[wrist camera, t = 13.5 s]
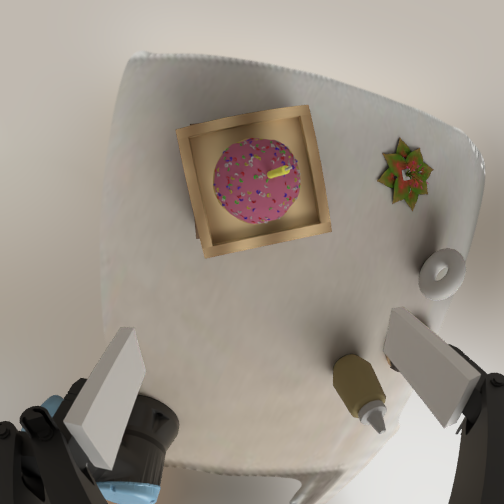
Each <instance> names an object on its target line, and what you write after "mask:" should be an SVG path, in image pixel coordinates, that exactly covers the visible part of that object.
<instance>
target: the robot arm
mask: <svg viewBox="0 0 504 504" xmlns="http://www.w3.org/2000/svg"><path fill="white" fill-rule="evenodd" d="M383 352H384V353H385V354H386V355H387V357H388V358H389V359H390V360H391V362H392V363H393V364H394V365H395V366H396V368H397V369H398V370H399V371H400V373H401V374H402V375H403V376H404V378H405V379H406V380H407V381H408V383H409V384H410V385H411V386H412V388H413V389H414V390H415V391H416V393H417V394H418V395H419V396H420V398H421V399H422V400H423V402H424V403H425V404H426V405H427V407H428V408H429V409H430V411H431V412H432V413H433V414H434V416H435V417H436V418H437V420H438V421H439V422H440V424H441V425H442V426H443V427H444V428H446V427H448V426H450V425H452V424H454V423H456V422H457V420H458V419H459V417H460V415H461V413H463V414H464V415H465V418H464V420H463V421H462V423H461V425H460V427H459V428H458V430H457V432H456V434H458V433H459V431H460V430H461V429H462V433H461V443H460V450H459V457H458V463H457V469H456V474H455V479H454V484H453V488H452V492H451V496H450V500H449V504H504V376H503V375H502V374H499V373H490V374H487V373H486V372H485V371H483V370H482V369H481V368H480V367H479V366H478V365H477V364H476V363H475V362H473V361H472V360H470V358H469V357H468V356H466V355H465V354H464V353H463V352H462V351H461V350H460V349H458V348H457V347H454V346H452V345H450V344H449V345H448V344H447V343H446V342H445V341H443V340H442V339H441V338H440V337H439V336H438V335H436V334H435V333H434V332H433V331H432V330H430V329H429V328H428V327H427V326H426V325H425V324H423V323H422V322H421V321H420V320H419V319H417V318H416V317H415V316H414V315H412V314H411V313H410V312H409V311H408V310H406V309H405V308H404V307H398V308H392V309H391V315H390V320H389V326H388V331H387V336H386V340H385V345H384V349H383ZM145 373H146V369H145V366H144V362H143V359H142V355H141V351H140V348H139V344H138V340H137V336H136V332H135V328H130V327H121V328H120V329H119V331H118V332H117V334H116V335H115V337H114V338H113V340H112V341H111V343H110V344H109V346H108V347H107V349H106V350H105V352H104V354H103V355H102V357H101V358H100V360H99V362H98V363H97V365H96V366H95V368H94V370H93V371H92V373H91V375H90V376H89V378H88V379H84V378H80V379H79V380H78V381H77V382H75V383H74V384H73V385H72V387H71V388H70V390H69V391H68V394H66V396H65V397H64V399H63V398H62V397H60V396H58V395H53V396H51V397H49V398H48V399H47V400H46V401H45V402H44V403H43V404H42V405H41V406H33V407H30V408H28V409H26V410H25V411H24V412H23V413H22V415H21V416H20V424H21V425H22V429H21V431H18V430H17V429H16V427H15V426H14V425H13V424H12V423H11V422H8V421H3V422H0V504H108V503H107V501H106V500H109V501H112V502H114V503H118V504H154V503H156V501H157V497H158V494H159V491H160V483H161V478H162V471H163V466H164V460H165V454H166V451H167V449H168V448H169V447H170V445H171V444H172V442H173V441H174V439H175V438H176V436H177V434H178V430H179V420H178V418H177V416H176V415H175V413H174V412H173V411H172V410H171V409H170V408H168V407H167V406H166V405H164V404H162V403H161V402H159V401H157V400H154V399H152V398H149V397H145V396H140V395H138V392H139V389H140V386H141V384H142V381H143V378H144V376H145ZM105 499H106V500H105Z"/></svg>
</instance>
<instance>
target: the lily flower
mask: <svg viewBox="0 0 504 504" xmlns="http://www.w3.org/2000/svg"><path fill="white" fill-rule="evenodd" d="M382 154H383V153H382ZM383 155H384V157H385V159H386V160H387V163H388V165H389V167H390V168H388V169H387V170H386V171H385V172H384V173H383V175H382V176H381V178H380V179H378V180H377V181H378V182H380V183H382V184H384V185H386V186H388V187H390V188H394V195H393V199H394V200H393V203H394V202H398V201H399V200H400V201H401V200H403V199H405V201H406V203H407V204H408V205H409V207H411V209H412V211H413V209H414V206H415V204H416V202H417V199H418V194H421V195H423V194H425V193H426V194H428V192H427V182H426V180H427V179H428V177H429V176H430V174H431V171H433V169H431V168H430V167H428V165H427V164H425V163H423V157H422V154H421V152H420V148H419V149H417V150H415V151H413V152H411V151H410V149H409V147H408V146H407V145H406V144H405V143H404V142H403V141H402V140H401V138H400V140H399V145H398V147H397V151H396V154H387V155H386V154H383ZM403 157H404V158H405V159H406V161H405V159H404V158H403ZM407 168H408V170H409V168H410V170H409V171H411V173H410V172H409V171H408V170H407V172H406V173H405V174H407V175H406V176H409V177H410V179H411V178H412V179H411V180H407V181H404V180H403V176H402V170H404V169H407ZM419 171H423V172H421V174H420V173H418V172H419ZM408 172H409V173H408ZM394 175H395V176H397V179H395V178H393V177H394ZM411 176H412V177H411ZM428 184H429V183H428ZM410 188H411V191H410ZM393 203H392V204H393Z"/></svg>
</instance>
